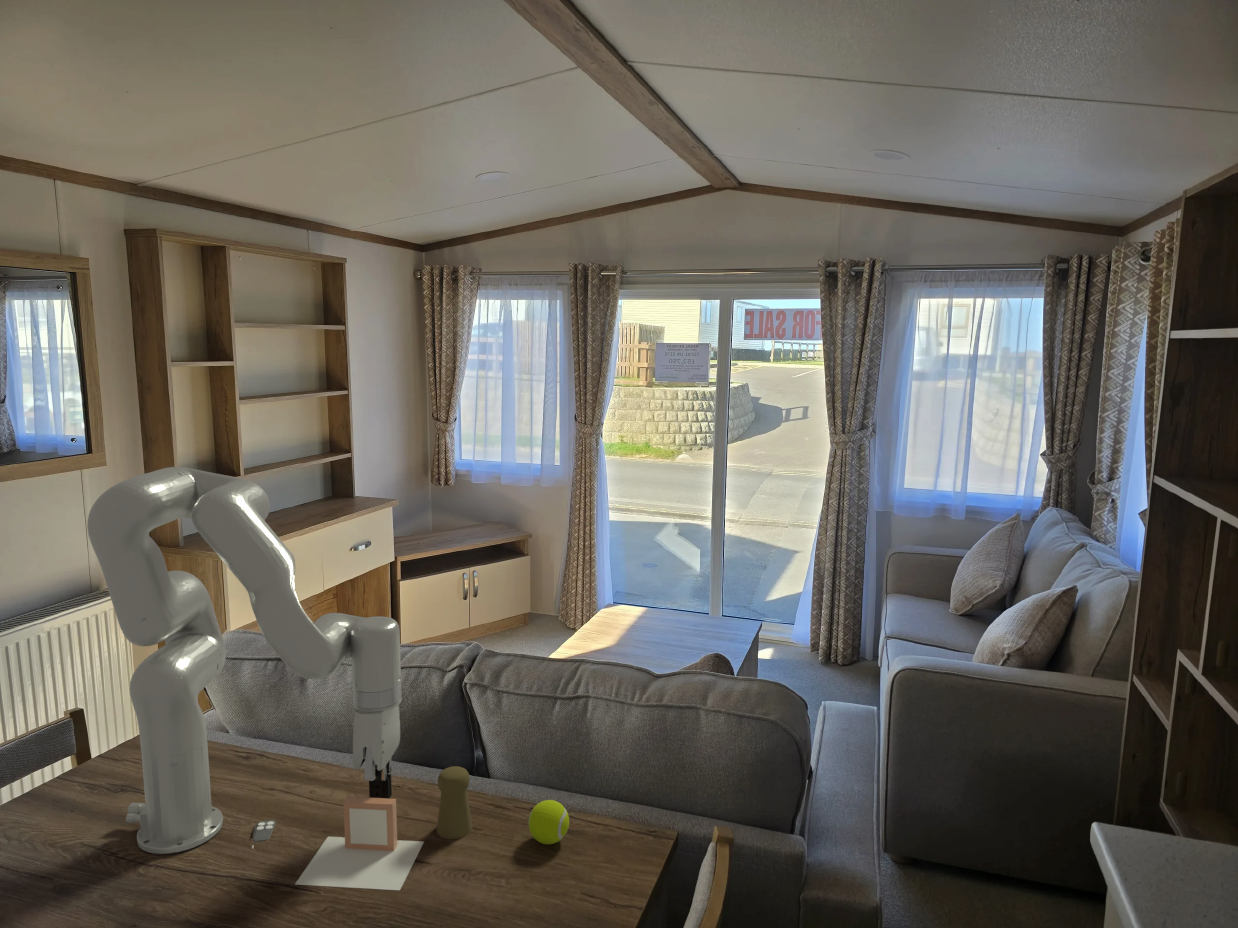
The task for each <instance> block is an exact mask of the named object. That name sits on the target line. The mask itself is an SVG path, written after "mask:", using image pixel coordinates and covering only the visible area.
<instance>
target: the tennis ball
mask: <svg viewBox="0 0 1238 928" xmlns="http://www.w3.org/2000/svg"><path fill="white" fill-rule="evenodd" d="M569 827H570V816H569V813H568V811H567V808H565V806H564V805H563V804H562V803H560V802H558V801H556V800H553V799H547V800H542V801H540V802H538V803H537V804H536V805H534V807H533V808H532V810H531V811H530V813H529V815H528V830H529V833H530V835H531V836H532V838H533V839H535V841H537V842H538V843H541V844H543V845H553V844H556V843H558V842H560V841H561V840H563V838H564V837H565V836H566V834H567V833H568V830H569Z"/></svg>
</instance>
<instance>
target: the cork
mask: <svg viewBox="0 0 1238 928" xmlns="http://www.w3.org/2000/svg"><path fill="white" fill-rule="evenodd" d="M470 779H471V778H470V774H469V771H468V770H467V769H466V768H464V767H462V766H458V765H457V766H456V765H455V766H449V767H446V768H444V769H443V770H441V771H440V773H439V775H438V778H437V787H438V790H439V791H440V800H439V806H438V807H439V810H438V816H437V824H436V834H437V835H438V836H439V837H440V838H443V839H445V840H457V839H458V840H459V839H461V838H464V837H466V836H468V835H469V834H470V833H472V831H473V822H472V816H471V815H472V814H471V809H470V804H469V799H468V798H469V797H468V790H467V789H468V788H469V786H470V781H471V780H470Z"/></svg>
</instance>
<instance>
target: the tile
mask: <svg viewBox="0 0 1238 928" xmlns="http://www.w3.org/2000/svg"><path fill="white" fill-rule="evenodd" d="M342 803H343V804H342V805H343V807H342V808H343V826H344V827H343V828H344V829H343V830H344V837H345V848H350V849H368V850H387V851H394V850H395V848H396V847H397V840H398V824H397V823H398V821H397V820H398V819H397V798H390V799H388V798H370V797H365V796H364V797H363V796H362V797H361V796H346V798H345V799H344V800H343V802H342Z"/></svg>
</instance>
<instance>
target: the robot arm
mask: <svg viewBox="0 0 1238 928" xmlns="http://www.w3.org/2000/svg"><path fill="white" fill-rule="evenodd" d="M270 503H271V502H270V499H269V496H268V494H267V493H266V492H265V490H264V489H263V488H262V487H261V486H260V485H259V484H257V483H256V482H253V481H251V480H248V479H245V478H242V477H236V476H231V475H228V474H227V475H226V474H225V475H224V474H222V473H221V474H220V473H215V472H210V471H205V470H200V469H195V468H189V467H184V466H183V467H182V466H170V467H169V466H168V467H164V468H161V469H157V470H154V471H150V472H146V473H142V474H140V475H139V474H138V475H136V476H133V477H130V478H127V479H124V480H122V481H120V482H118V483H116V484H114V485H113V486H111V487H110V488H107V490H105V491H104V492H102V494H100V496H99V497H98V498H97V499H96V500H95V501H94V503H93V504H92V506H91V508H90V510H89V513H88V516H87V522H86V523H87V525H86V526H87V533H88V537H89V538H88V539H89V540H90V541H89V542H90V544H91V547H92V549H93V551H94V554H95V556H96V558H97V560H98V563H99V565H100V568H101V571H102V574H103V576H104V577H103V578H104V581H105V584H106V585H105V586H106V587H107V590H108V593H109V596H110V600H111V602H112V603H111V604H112V607H113V609H114V613H115V616H116V619H117V623H118V625H119V627H120V630H121V631H122V634H123V636H124V637H125V639H126V640H128V641H129V643H131V644H133V645H134V646H137V647H138V646H139V647H151V646H155V645H157V644H159V643H162V642H163V641H164V644H165V645H163V646H161V647H159V648H158V649H157V650H155V651H154V652H153V653H151V654H150V655H148V656H147V657H146V658H145V659H144V660H143V661H141V663H140V664H139V665H137V667H136V669H135V670H134V672H133V674H132V676H131V679H130V682H129V695H130V700H131V703H132V706H133V710H134V712H135V717H136V720H137V721H136V722H137V724H138V731H139V733H138V734H139V742H140V752H141V764H142V765H141V766H142V777H143V790H144V791H143V792H144V801H145V802H131V803H129V805H128V807H127V814H126V817H125V822H126V823H132V824H133V823H138V824H139V825H140V828H139V829H138V831H137V834H136V841H137V845H138V847H139V849H141V850H143V851H145V852H146V853H151V854H155V855H165V854H166V855H168V854H175V853H179V852H180V853H181V852H183V851H188V850H190V849H193V848H196V847H198V846H201V845H202V844H204V843H206V842H208V841H209V840H211V839H212V838H213V837H214V836H216V835H217V834H218V833H219V831H220V830H221V829H222V826H223V824H224V816H223V813H222V812H221V810H220V809H219V808H217V807H215V806H213V805H212V792H211V777H210V759H209V751H208V750H209V748H208V746H209V744H208V734H207V733H208V732H207V723H206V717H205V715H204V712H203V710H202V708H201V706H200V704H199V699H198V698H199V693H200V692H201V691H203V690H204V689H205V688H206V687H207V686H208V685H209V684H210V683H211V682H212V681H213V680H215V678H217V676H218V675H219V674H220V673H221V672H222V670H223V668H224V666H225V663H226V659H227V657H226V656H227V655H226V654H227V653H226V652H227V651H226V645H225V642H224V639H223V634H222V631H221V629H220V625H219V621H218V618H217V615H216V612H215V609H214V608H215V607H214V605H213V601H212V600H211V595H210V594H209V591H208V589H207V588H206V586H205V585H204V584H203V582H202V581H201V580H200V579H199V578H198V577H197V576H195V575H194V574H192V573H190V572H188V571H184V570H170V571H168V568H167V566H166V561H165V557H164V555H163V552H162V550H161V549H160V547H159V546H158V544H157V543H156V541H155V540H154V539H153V538H152V537H151V536H150V532H152V531H153V530H154V529H156V528H158V527H161V526H163V525H165V524H168V523H171V522H173V521H177V520H178V519H181V518H186V519H190V520H191V521H192V524H193V526H194V528H195V529H196V531H197V532H198V534H199V535H200V536H201V537H202V539H203V540H204V541H205V542H206V543H207V545H208V546H209V547H210V548H211V549H212V550H213V552H214V553H216V555H217V556H218V558H219V559H221V561H222V562H223V563H224V565H226V567H227V568H228V569H229V570H230V572H231V574H233V575H234V576H235V578H236V579H237V580H238V581H239V582H240V583H241V584H242V586H243V588H245V591H246V592H247V593H248V594H247V595H248V597H249V602H250V607H251V608H252V612H253V614H254V617H255V620H256V622H257V625H258V628H259V629H260V632H261V634H262V636H263V637H264V639H265V640H266V642H267V644H268V645H269V646H270V647H271V649H272V650H273V651H274V652H275V654H276V655H277V656H278V657H279V658H280V659H281V660H282V662H283V663H284V664H285V665H286V666H287V667H288V668H289V669H290V670H291V671H292V672H294V673H295V675H296V674H297V676H300V677H302V678H303V679H307V680H313V681H318V680H321V679H324V678H325V679H326V678H327V677H328V676H330V675H332V674H333V673H334V672H335V671H336V670H337V668H339V667H340V665H341V664H342V662H343V661H345V660H347V659H350V660H351V673H352V674H351V675H352V699H353V700H352V701H353V707H354V708H355V709H356V710H355V714H354V719H353V732H352V736H353V737H352V766H353V767H352V768H353V769H354V770H355V771H358V770H360V768H361V767H362V766H363V765H364V778H363V779H364V781H366V782H368V790H369V793H368V795H369V797H368V798H388V799H391V797H392V795H393V794H392V793H393V792H392V791H393V790H392V786H393V785H392V774H391V772H392V767H393V766H392V765H393V762H392V761H393V760H392V759H393V758H392V757H393V755H394V754H395V753H396V751H397V750H398V747H399V746H400V742H401V741H400V740H401V717H400V707H399V705H400V704H401V703H402V671H401V669H402V668H401V667H402V666H401V665H402V663H401V638H400V637H401V632H400V625H399V623H398V621H397V620H395V619H394V618H392V617H388V616H381V615H379V616H378V615H376V616H369V617H363V616H357V615H351V614H347V613H341V612H329V613H325V614H323V615H321V616H320V617H318V618H317V619H316V620H315V621H314V622H313V620H312V619H311V618H310V617H309V615H308V614H307V612H306V611H305V610H304V608H303V606H302V604H301V602H300V600H299V597H298V595H297V591H296V584H295V583H296V582H295V578H296V559H295V557H294V554H293V553H292V552H291V550H290V549H289V548H288V547H287V545H285V543H284V542H283V541H282V540H281V539H280V537H279V536H278V535H277V534H276V533H275V532H274V530H273V529H272V528H271V527H270V525H269V524H268V523H267V521H266V519H267V518H268V516H269V514H270V510H271V504H270Z"/></svg>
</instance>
